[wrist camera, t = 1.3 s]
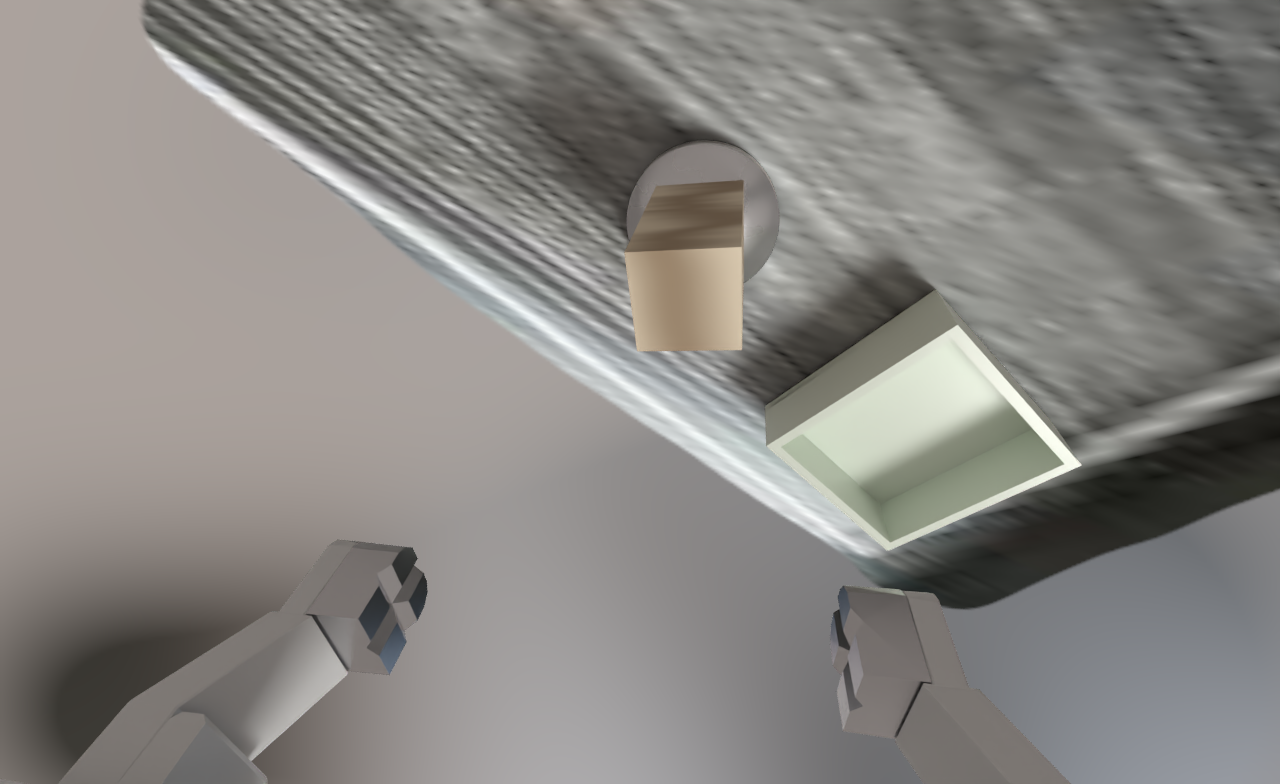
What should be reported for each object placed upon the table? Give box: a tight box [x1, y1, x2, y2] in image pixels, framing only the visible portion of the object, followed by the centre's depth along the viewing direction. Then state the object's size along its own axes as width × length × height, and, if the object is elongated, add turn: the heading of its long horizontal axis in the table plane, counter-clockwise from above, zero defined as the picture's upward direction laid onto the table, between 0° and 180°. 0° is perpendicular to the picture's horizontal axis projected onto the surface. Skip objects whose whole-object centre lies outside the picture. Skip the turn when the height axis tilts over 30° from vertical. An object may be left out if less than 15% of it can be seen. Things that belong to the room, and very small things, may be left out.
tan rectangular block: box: [624, 180, 744, 351], centre depth 26 cm, size 4×4×9 cm
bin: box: [765, 289, 1081, 551], centre depth 34 cm, size 12×12×4 cm
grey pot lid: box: [626, 140, 779, 283], centre depth 28 cm, size 8×8×4 cm
